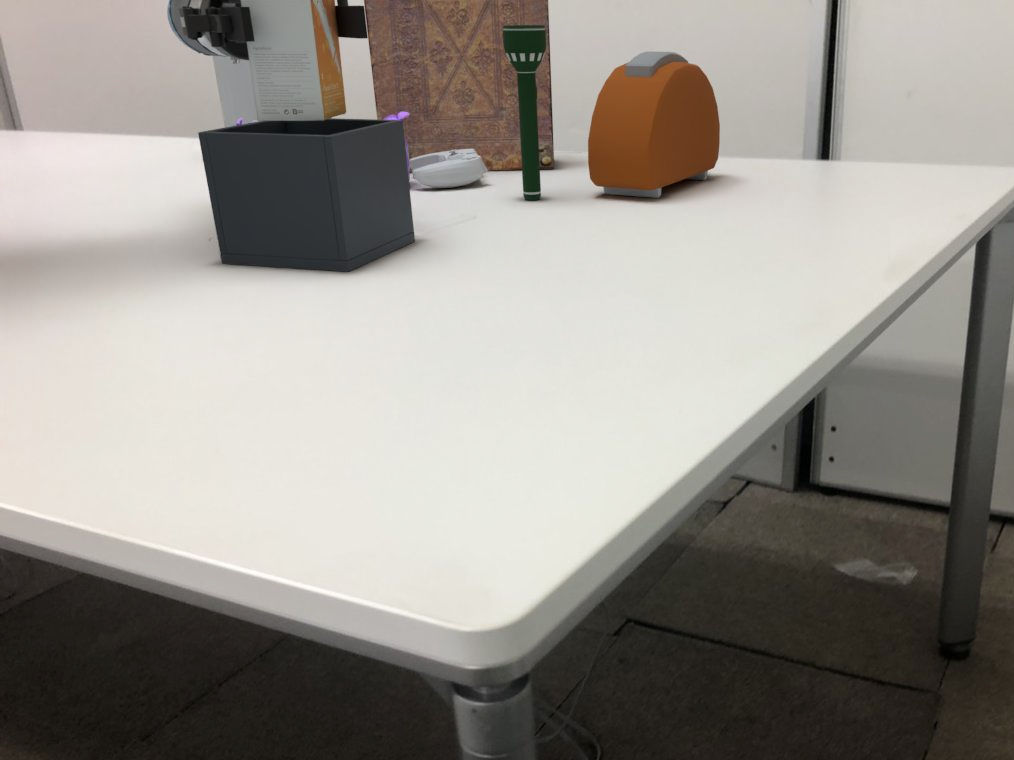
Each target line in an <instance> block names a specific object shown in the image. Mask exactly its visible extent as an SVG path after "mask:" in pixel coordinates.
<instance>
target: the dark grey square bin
mask: <svg viewBox="0 0 1014 760" xmlns="http://www.w3.org/2000/svg"><path fill="white" fill-rule="evenodd" d="M197 134H198V141H199V146H200V151H201V156H202V162H203V168H204V172H205V178H206V183H207V189H208V194H209V195H208V196H209V199H210V207H211V211H212V216H213V222H214V227H215V233H216V239H217V243H218V249H219V257H220V261H221V264H222V265H223V264H224V265H239V266H254V267H268V268H269V267H271V268H283V269H285V268H286V269H299V270H300V269H301V270H315V271H332V272H347V273H349V272H351V271H353V270H356V269H358V268H360V267H362V266H364V265H366V264H368V263H369V264H370V263H371V262H373V261H375V260H377V259H379V258H382V257H384V256H386V255H388V254H390V253H392V252H394V251H397V250H399V249H402V248H403V247H405V246H408V245H410V244H412V243H414V242H415V241H416V236H415V228H414V227H415V226H414V217H413V208H412V199H411V188H410V180H409V177H408V167H407V157H406V147H405V137H404V127H403V121H402V120H377V119H374V118H373V119H372V118H367V119H366V118H335V117H332V118H328V119H326V120H324V121H259V122H253V123H248V124H242V125H237V126H231V127H225V126H224V127H221V128H214V129H210V130H203V131H198V132H197Z"/></svg>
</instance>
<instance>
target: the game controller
mask: <svg viewBox="0 0 1014 760" xmlns="http://www.w3.org/2000/svg"><path fill="white" fill-rule="evenodd" d="M409 163H410V168H411V169H412V172H411V175H412V177H413V179H414V180H415V181H416V182H417V183H419V184H421V185H423V186H425V187H428V188H436V189H449V188H457V187H458V188H459V187H461V186H466V185H469V184H472V183H475V182H476V181H478V180H480V179H482V178H484V174H485V173H487V172H489V170H488V169H487V168H486V166H485V165H484V163H483V161H482V160H481V156H480V155H479V156H478V154H477V153H476V151H475V149H460V150H457V149H454V150H451V151H444V152H437V153H431V154H426V155H422V156H418V157H415V158H412V159H410V160H409Z"/></svg>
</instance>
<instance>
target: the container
mask: <svg viewBox="0 0 1014 760" xmlns="http://www.w3.org/2000/svg"><path fill="white" fill-rule="evenodd" d="M211 57H212V63H213V67H214V73H215V79H216V86H217V90H218V96H219V103H220V109H221V113H222V120H223V127H224V128H225V127H231V126H236V123H237V121H238V120H239V119H240V118H241V119H242V124H248V123H251V122H252V121H253V120H256V121H259V120H257V113H256V106H255V99H254V92H253V84H252V76H251V69H250V62H249V60H242V59H240V63H238V64H233V63H232V62H231V59H230V57H222V56H211ZM331 118H333V117H331Z"/></svg>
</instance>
